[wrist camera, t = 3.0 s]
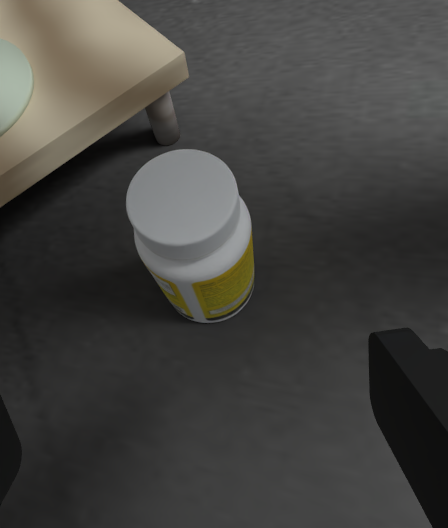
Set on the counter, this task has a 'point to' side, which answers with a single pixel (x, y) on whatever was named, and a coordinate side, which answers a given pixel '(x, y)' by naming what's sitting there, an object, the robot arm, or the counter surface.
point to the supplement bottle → (193, 233)
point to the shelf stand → (77, 82)
